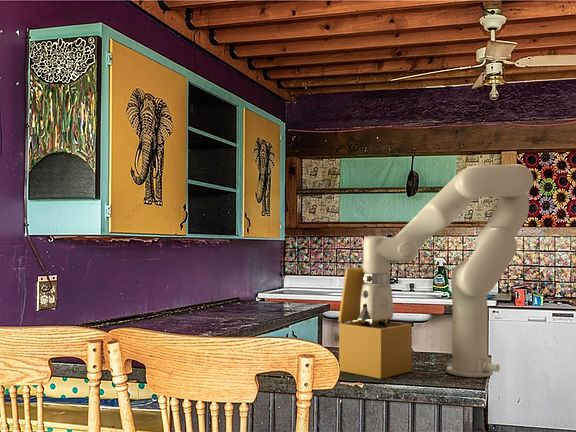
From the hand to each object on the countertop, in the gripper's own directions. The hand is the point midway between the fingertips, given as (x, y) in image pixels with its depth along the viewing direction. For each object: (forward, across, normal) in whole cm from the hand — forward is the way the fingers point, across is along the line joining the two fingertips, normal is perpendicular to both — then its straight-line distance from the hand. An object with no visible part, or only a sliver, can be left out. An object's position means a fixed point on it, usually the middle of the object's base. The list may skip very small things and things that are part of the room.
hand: (375, 343), depth 194 cm
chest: (+8, 0, 0) cm, 8 cm away
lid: (-13, 0, +6) cm, 15 cm away
